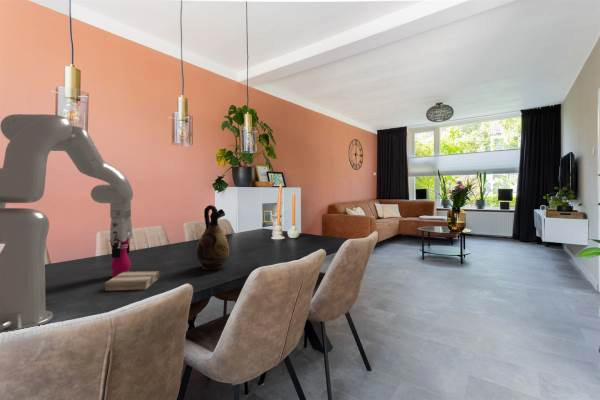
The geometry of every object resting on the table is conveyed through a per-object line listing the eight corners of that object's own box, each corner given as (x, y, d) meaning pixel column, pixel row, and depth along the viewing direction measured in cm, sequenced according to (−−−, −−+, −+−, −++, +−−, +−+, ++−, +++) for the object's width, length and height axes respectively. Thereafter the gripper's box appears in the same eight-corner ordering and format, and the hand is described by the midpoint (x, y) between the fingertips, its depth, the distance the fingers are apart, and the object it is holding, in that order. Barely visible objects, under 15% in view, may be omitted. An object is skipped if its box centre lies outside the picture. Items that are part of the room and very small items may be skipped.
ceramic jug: (236, 266, 142) (236, 205, 141) (211, 273, 129) (211, 206, 128) (212, 261, 151) (212, 204, 150) (186, 268, 138) (186, 205, 137)
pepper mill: (121, 278, 120) (121, 230, 119) (106, 277, 121) (106, 230, 121) (134, 274, 127) (134, 228, 126) (120, 272, 128) (120, 228, 128)
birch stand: (145, 289, 108) (145, 281, 107) (105, 290, 106) (105, 282, 106) (158, 278, 121) (158, 271, 121) (123, 279, 120) (123, 271, 119)
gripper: (120, 216, 115) (120, 260, 116) (138, 212, 132) (138, 251, 133) (99, 216, 114) (100, 260, 115) (121, 212, 131) (121, 251, 132)
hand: (121, 255), depth 124 cm, fingers open, 7 cm apart
